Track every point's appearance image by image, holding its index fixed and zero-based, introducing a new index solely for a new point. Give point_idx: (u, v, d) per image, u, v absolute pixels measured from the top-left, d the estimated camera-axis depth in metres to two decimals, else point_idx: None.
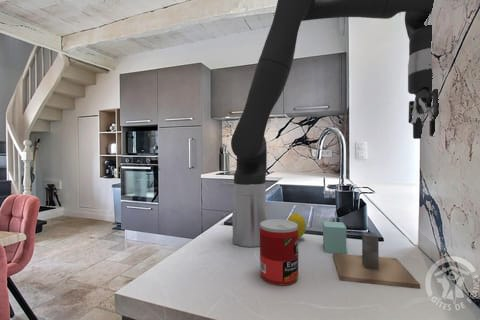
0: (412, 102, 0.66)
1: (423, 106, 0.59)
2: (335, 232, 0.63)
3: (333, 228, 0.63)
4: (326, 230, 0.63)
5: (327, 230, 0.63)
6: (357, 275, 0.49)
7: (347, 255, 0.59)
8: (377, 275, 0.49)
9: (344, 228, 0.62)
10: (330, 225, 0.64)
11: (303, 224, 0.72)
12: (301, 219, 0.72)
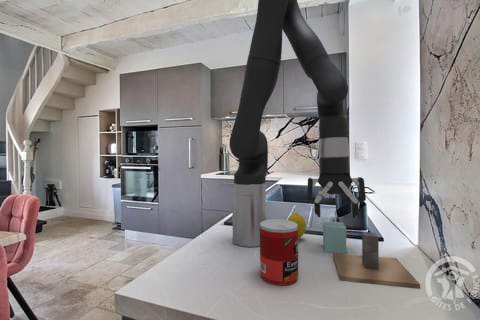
0: (312, 180, 0.66)
1: (346, 190, 0.63)
2: (335, 232, 0.63)
3: (333, 228, 0.63)
4: (326, 230, 0.63)
5: (327, 230, 0.63)
6: (357, 275, 0.49)
7: (347, 255, 0.59)
8: (377, 275, 0.49)
9: (344, 228, 0.62)
10: (330, 225, 0.64)
11: (303, 224, 0.72)
12: (301, 219, 0.72)
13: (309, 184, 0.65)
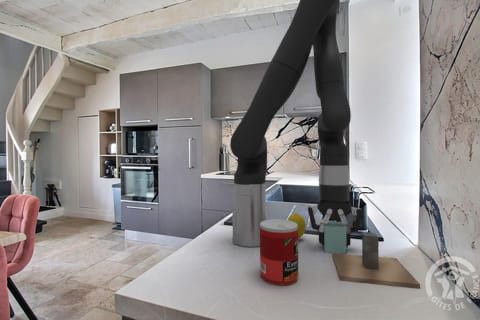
0: (311, 208, 0.66)
1: (343, 218, 0.63)
2: (335, 232, 0.63)
3: (333, 228, 0.63)
4: (326, 230, 0.63)
5: (327, 230, 0.63)
6: (357, 275, 0.49)
7: (347, 255, 0.59)
8: (377, 275, 0.49)
9: (344, 228, 0.62)
10: (330, 225, 0.64)
11: (303, 224, 0.72)
12: (301, 219, 0.72)
13: (310, 213, 0.66)
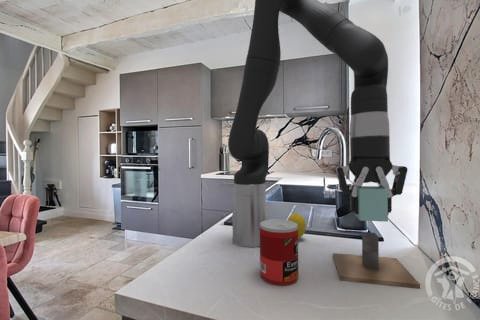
0: None
1: (382, 178, 0.51)
2: (373, 195, 0.50)
3: (370, 190, 0.51)
4: (361, 193, 0.51)
5: (363, 193, 0.51)
6: (357, 275, 0.49)
7: (347, 255, 0.59)
8: (377, 275, 0.49)
9: (384, 190, 0.50)
10: (365, 188, 0.52)
11: (303, 224, 0.72)
12: (301, 219, 0.72)
13: (340, 174, 0.53)
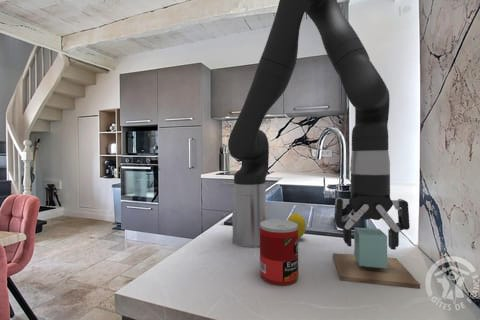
0: (342, 200, 0.54)
1: (385, 215, 0.51)
2: (373, 241, 0.51)
3: (370, 236, 0.51)
4: (361, 239, 0.51)
5: (363, 239, 0.51)
6: (357, 275, 0.49)
7: (347, 255, 0.59)
8: (377, 275, 0.49)
9: (384, 236, 0.50)
10: (365, 232, 0.52)
11: (303, 224, 0.72)
12: (301, 219, 0.72)
13: (338, 206, 0.53)
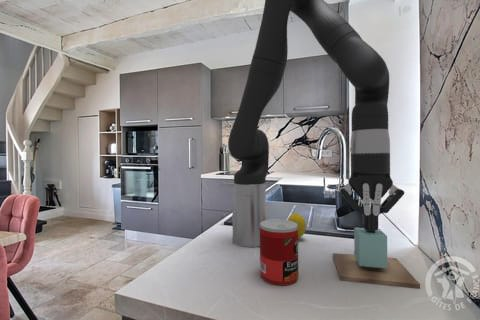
0: (344, 189, 0.54)
1: (378, 196, 0.51)
2: (373, 241, 0.51)
3: (370, 236, 0.51)
4: (361, 239, 0.51)
5: (362, 239, 0.51)
6: (357, 275, 0.49)
7: (347, 255, 0.59)
8: (377, 275, 0.49)
9: (384, 236, 0.50)
10: (365, 232, 0.52)
11: (303, 224, 0.72)
12: (301, 219, 0.72)
13: (345, 195, 0.53)
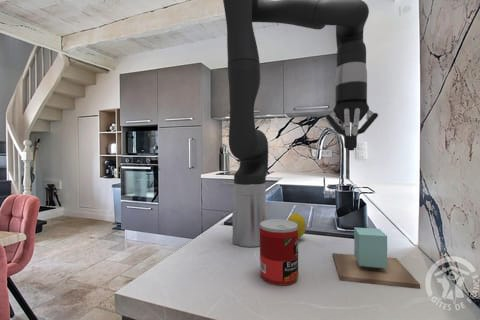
0: None
1: (356, 118, 0.62)
2: (373, 241, 0.51)
3: (370, 236, 0.51)
4: (361, 239, 0.51)
5: (363, 239, 0.51)
6: (357, 275, 0.49)
7: (347, 255, 0.59)
8: (377, 275, 0.49)
9: (384, 236, 0.50)
10: (365, 232, 0.52)
11: (303, 224, 0.72)
12: (301, 219, 0.72)
13: (330, 120, 0.65)
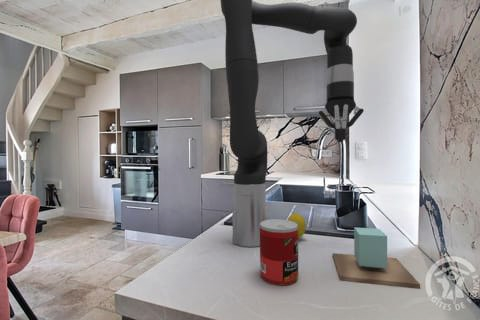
0: None
1: (345, 113, 0.71)
2: (373, 241, 0.51)
3: (370, 236, 0.51)
4: (361, 239, 0.51)
5: (363, 239, 0.51)
6: (357, 275, 0.49)
7: (347, 255, 0.59)
8: (377, 275, 0.49)
9: (384, 236, 0.50)
10: (365, 232, 0.52)
11: (303, 224, 0.72)
12: (301, 219, 0.72)
13: (322, 115, 0.73)
